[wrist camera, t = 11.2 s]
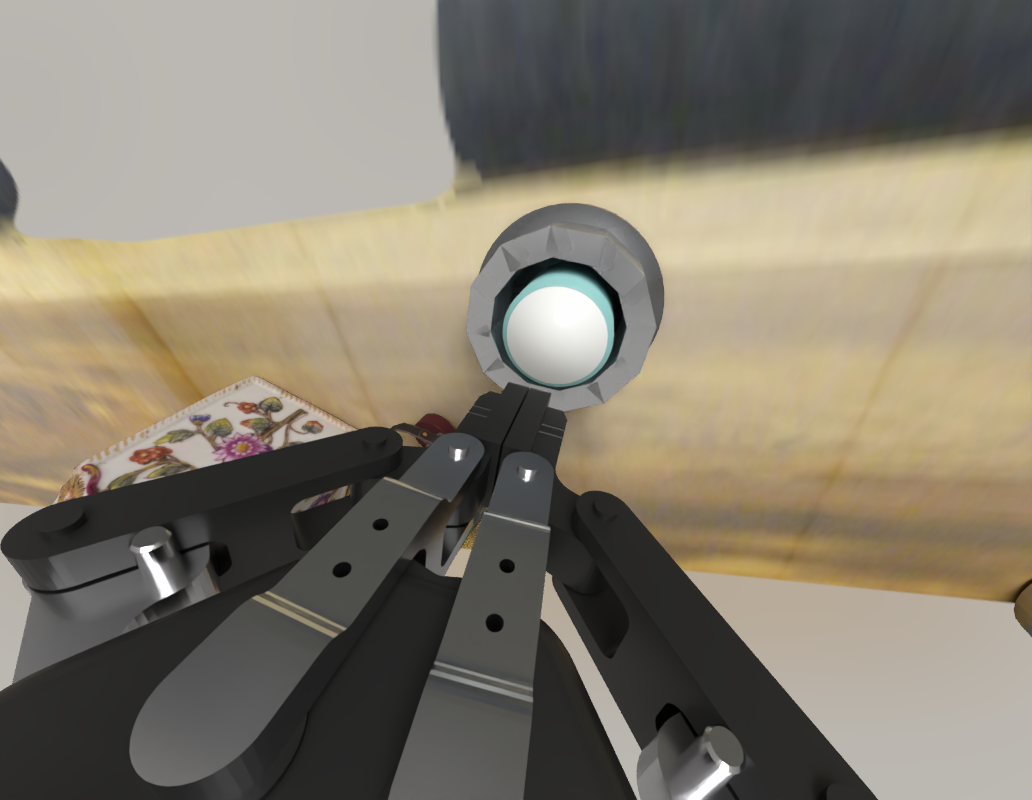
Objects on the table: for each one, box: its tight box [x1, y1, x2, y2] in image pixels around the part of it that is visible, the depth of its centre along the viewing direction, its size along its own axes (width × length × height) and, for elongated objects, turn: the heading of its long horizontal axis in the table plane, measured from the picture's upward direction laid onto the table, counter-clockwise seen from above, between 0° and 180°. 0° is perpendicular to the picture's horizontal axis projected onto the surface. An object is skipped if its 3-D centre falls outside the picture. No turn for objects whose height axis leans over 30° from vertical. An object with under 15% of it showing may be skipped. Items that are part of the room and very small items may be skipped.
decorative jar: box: [54, 376, 358, 513], centre depth 30 cm, size 12×12×18 cm
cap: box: [503, 262, 614, 387], centre depth 22 cm, size 6×6×6 cm
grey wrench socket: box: [466, 203, 664, 412], centre depth 23 cm, size 12×12×5 cm
